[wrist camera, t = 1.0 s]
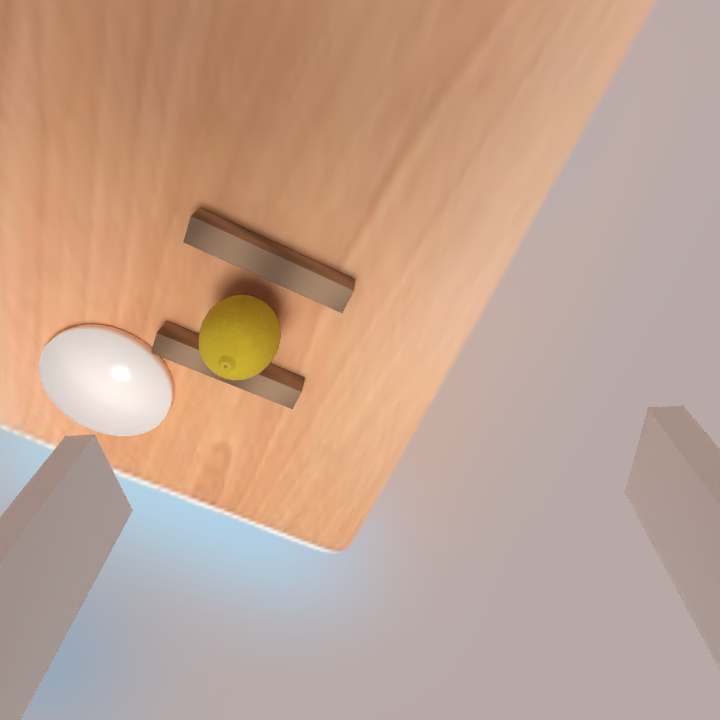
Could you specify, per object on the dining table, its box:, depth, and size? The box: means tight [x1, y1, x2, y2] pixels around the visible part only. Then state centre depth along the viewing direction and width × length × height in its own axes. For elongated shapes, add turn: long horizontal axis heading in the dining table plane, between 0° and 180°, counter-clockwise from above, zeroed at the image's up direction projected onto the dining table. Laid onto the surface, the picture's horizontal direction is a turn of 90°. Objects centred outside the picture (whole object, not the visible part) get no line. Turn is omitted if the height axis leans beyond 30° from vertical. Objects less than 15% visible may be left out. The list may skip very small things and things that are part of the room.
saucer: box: [39, 324, 174, 436], centre depth 43 cm, size 11×11×1 cm
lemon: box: [199, 295, 281, 380], centre depth 36 cm, size 6×6×8 cm
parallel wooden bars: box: [151, 208, 355, 409], centre depth 38 cm, size 12×12×2 cm
